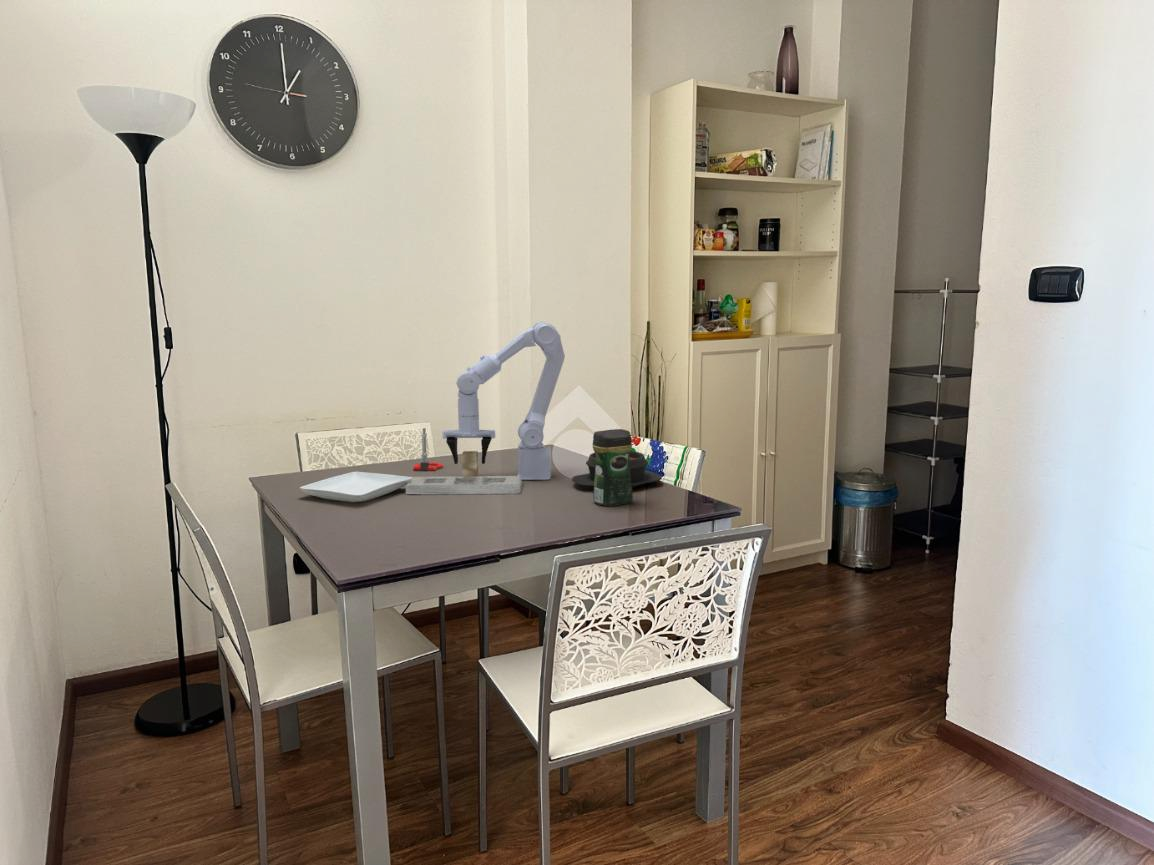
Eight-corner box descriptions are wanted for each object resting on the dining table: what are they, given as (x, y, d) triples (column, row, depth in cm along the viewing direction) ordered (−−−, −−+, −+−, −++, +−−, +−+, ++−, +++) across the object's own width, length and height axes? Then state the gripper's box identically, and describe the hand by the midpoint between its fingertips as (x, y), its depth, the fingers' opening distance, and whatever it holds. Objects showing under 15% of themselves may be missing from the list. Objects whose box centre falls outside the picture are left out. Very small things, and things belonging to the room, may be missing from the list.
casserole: (582, 496, 213) (581, 464, 212) (564, 480, 231) (564, 451, 229) (672, 489, 219) (672, 458, 218) (648, 474, 237) (648, 446, 236)
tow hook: (419, 466, 254) (410, 471, 245) (418, 424, 252) (409, 428, 243) (446, 466, 253) (437, 471, 244) (445, 424, 251) (437, 428, 242)
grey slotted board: (522, 484, 226) (522, 475, 226) (519, 493, 216) (519, 484, 216) (413, 485, 226) (413, 476, 226) (406, 494, 216) (405, 485, 216)
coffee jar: (622, 496, 212) (622, 425, 209) (637, 503, 205) (637, 430, 202) (588, 501, 208) (587, 428, 205) (602, 508, 201) (602, 433, 198)
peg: (478, 478, 234) (477, 451, 233) (476, 481, 230) (476, 453, 229) (464, 478, 234) (463, 451, 233) (462, 482, 230) (461, 454, 229)
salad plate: (297, 498, 213) (297, 486, 212) (355, 481, 231) (354, 469, 231) (360, 507, 203) (359, 494, 203) (414, 489, 222) (414, 476, 221)
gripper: (440, 417, 225) (441, 466, 227) (493, 417, 225) (494, 466, 227) (444, 413, 232) (445, 461, 234) (495, 413, 232) (496, 460, 234)
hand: (469, 463), depth 231 cm, fingers open, 7 cm apart
